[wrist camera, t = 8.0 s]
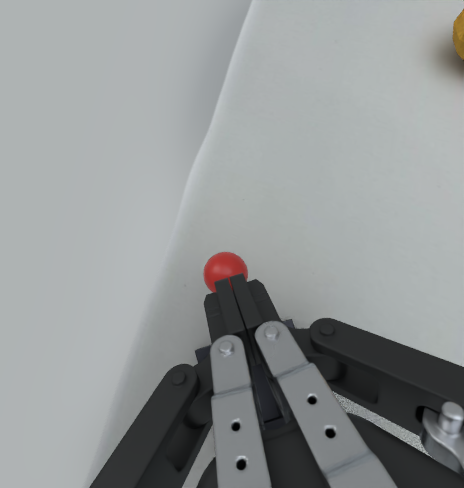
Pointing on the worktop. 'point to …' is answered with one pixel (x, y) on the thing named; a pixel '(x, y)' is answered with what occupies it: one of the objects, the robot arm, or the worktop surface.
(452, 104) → the worktop surface
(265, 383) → the clamp lever
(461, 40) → the potato
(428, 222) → the worktop surface
